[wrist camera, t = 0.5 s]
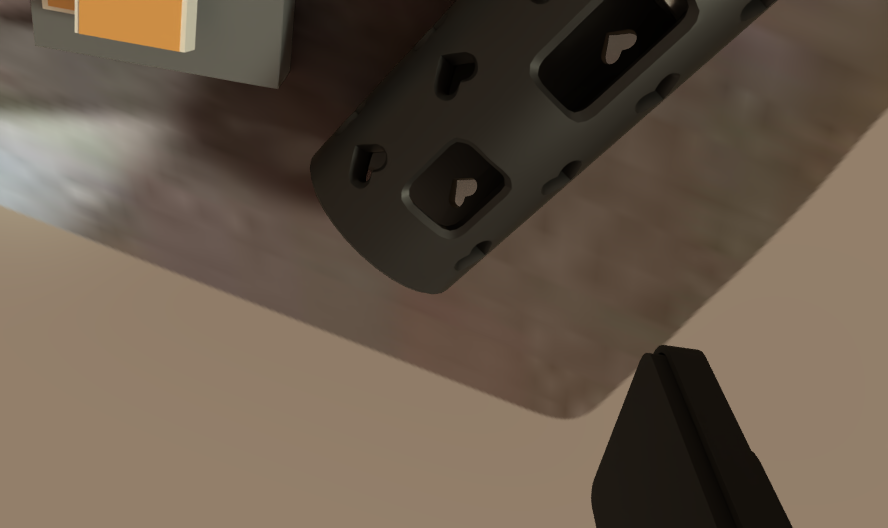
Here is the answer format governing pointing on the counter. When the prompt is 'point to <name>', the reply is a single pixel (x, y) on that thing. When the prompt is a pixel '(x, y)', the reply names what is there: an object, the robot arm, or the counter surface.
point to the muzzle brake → (502, 121)
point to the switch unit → (216, 42)
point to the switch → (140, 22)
